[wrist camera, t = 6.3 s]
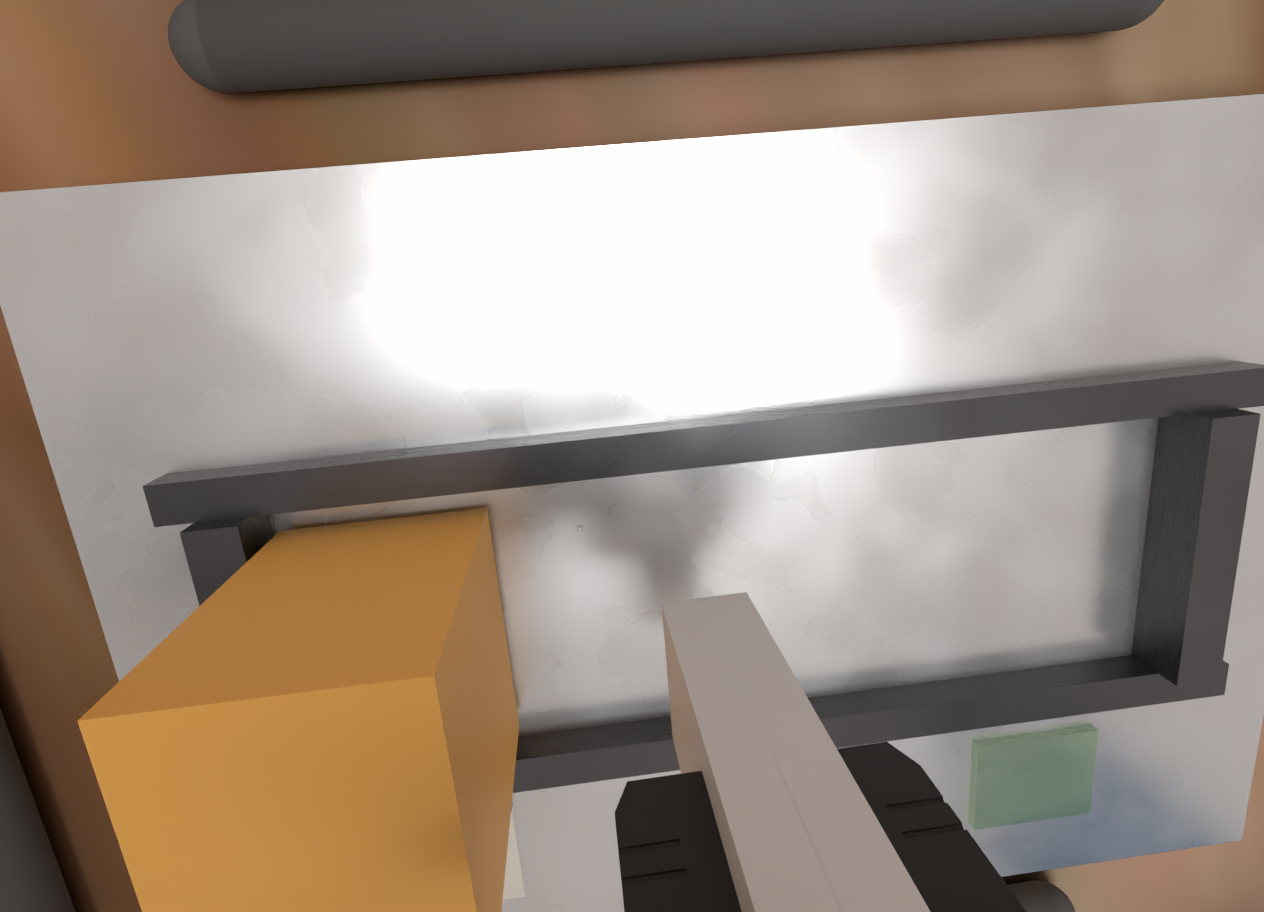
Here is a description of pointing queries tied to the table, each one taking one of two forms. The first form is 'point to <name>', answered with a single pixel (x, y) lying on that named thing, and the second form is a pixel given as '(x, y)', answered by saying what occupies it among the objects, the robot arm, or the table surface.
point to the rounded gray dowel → (25, 843)
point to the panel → (725, 438)
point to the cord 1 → (576, 33)
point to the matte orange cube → (323, 730)
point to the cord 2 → (1041, 897)
